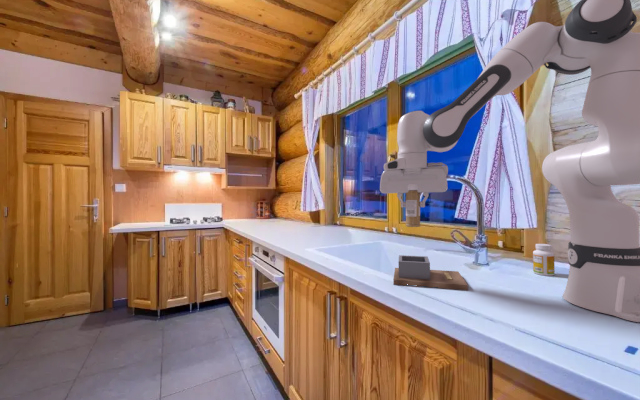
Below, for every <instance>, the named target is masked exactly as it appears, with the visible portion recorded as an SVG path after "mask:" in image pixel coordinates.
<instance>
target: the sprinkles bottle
mask: <svg viewBox="0 0 640 400" xmlns="http://www.w3.org/2000/svg"><path fill="white" fill-rule="evenodd" d="M408 190H409V191H408V193H405V202H406V204H405V205H406V207H405V226H406V227H408V228H419V227H421V207H420V202H421V201H420V200H421V195H420V194H421V193H420V192H418V191H417V190H418V185H417V184H409V185H408Z"/></svg>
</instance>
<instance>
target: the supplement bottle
mask: <svg viewBox="0 0 640 400" xmlns="http://www.w3.org/2000/svg"><path fill="white" fill-rule="evenodd" d="M532 259H533V260H532V264H533V266H532V267H533V268H532V269H533V270H532V271H533V272H532V273H534V274H536V275H539V276H545V277H553V276H555V253H554V252H553V251H552V245H551V244H549V243H548V244H547V243H535V250H533V251H532Z"/></svg>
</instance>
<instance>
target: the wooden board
mask: <svg viewBox="0 0 640 400" xmlns="http://www.w3.org/2000/svg"><path fill="white" fill-rule="evenodd" d="M407 284H408V285H417V286H416V287H419V286H427V287H426V288H432V287H438V288H437V289H447V290H448V289H449V290H458V291H459V290H460V291H468V290H469V289H468V288H469V285H468V284H467V282H466V280H465V279H464V278H463V275H461V273H460V272H459V271H457V270H440V269H430V280H427V279H412V278H399V267H394V274H393V285H396V286H406V285H407Z"/></svg>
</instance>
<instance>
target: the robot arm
mask: <svg viewBox="0 0 640 400" xmlns="http://www.w3.org/2000/svg"><path fill="white" fill-rule="evenodd" d="M637 21H638V19H637V15H636V14H635V13H634V11H633V7H632V3H631V0H580V1H579V2H577V4H575V6H574V7H573V8H572V10H571V11H570V12H569V14H568V15H567V17H566V19H565V22H564V24H563V25H553V24H552V23H549V22H546V21H537V22H534V23H532V24H530V25H528V26H526V28H524V29H522V31H520V32H519V33H517V34H516V35H515V36H514V37H512V39H510V40H509V41H507V43H506V44H505V45H504V46H503V47H502V48H500V49H499V51H498V52H497V53H496V54H495V55H494V56H493V57H492V58H491V59H490V61H489V62H488V63H487V64H486V65H485V67H484V69H483V70H482V71H481V73H480V74H479V75H478V77H477V78H476V79H475V81H473V82H472V83H471V85H470V86H468V87H467V88H466V89H465V90H464V91H463V92H461V94H460V95H459V96H458V97H456V98H455V100H454V101H452V102H451V103H449V104H448V105H446V106H445V107H442V108H439V109H438V110H436V111H434V112H432V113H431V114H428V113H425V112H424V111H423V110H412V111H409V112H406V113H405V114H403V115H402V116H401V117H400V118H399V120H398V123H397V131H396V132H397V134H396V135H397V136H396V141H397V146H398V152H397V158H396V159H393V160H391V161H390V160H389V161H388V162H385V163H384V164H383V170H384V171H383V172H382V173H381V175H380V182H379V191H380V193H381V194H397V195H396V196H397V198H398V200H399V202H400V207H401V208H406V201H403V199H402V196H403V194H406V193H408V191H409V190H408V185H409V184H417V185H418V190H417V191H418V192H420V194H421V193H423V196H424V198H423V199H422V201H420V208H425V207H426V201H427V200H428V198H429V193H444V192H445V193H446V192H447V190H448V179H447V176H448V173H449V167H448V165H447V164H445V163H443V162H428V160H427V159H428V153H427V152H437V153H443V152H448V151H450V150H452V149H453V148H454V147H455V146H456V145H457V143H458V142H459V140H460V138H461V137H462V136H463V134H464V131H465V129H466V126H467V124H468V122H469V121H470V119H472V117H473V116H475V115H476V114H477V113H478V112H479V111H480V110H481V109H483V107H484V106H485V105H486V104H487V103H488V102H489V101H491V100H492V99H493V98H494V97H496V96H505V95H506V96H507V95H509V94H510V93H512V92H513V91H515V90H516V89H518V87H520V86H522V84H524V83H525V82H526V81H527V80H528V79H530V77H532V75H533V74H534V73H536V71H537V70H539V69H540V68H541V67H542V66H544V67H545V68H546V69H549V70H553V71H555V72H557V73H559V74H562V75H567V76H569V75H570V76H574V75H579V74H581V73H584V72H586V71H587V70H589V69H590V70H591V71H590V77H589V81H588V85H587V89H586V93H585V97H584V98H585V99H584V102H583V105H582V106H583V107H582V110H581V117H582V118H583V119H584V121H586V122H587V123H588V124H590V125H591V126H594V127H596V128H597V127H598V135H597V138H596V139H595V140H591V141H585V142H581V143H576V144H571V145H570V144H569V145H567V146H565V147H562V148H559V149H557V150H553V151H552V152H551V153H548V155H546V156H545V158H544V160H543V162H542V165H541V166H542V167H541V171H542V175H543V177H544V178H545V179H546V181H547V182H549V183H550V184H551V185H553V186H554V187H555V188H556V189H557V190H558V192H559V193H560V194H561V196H562V198H563V199H564V202H565V204H566V207H567V209H568V215H569V228H570V231H569V232H570V241H569V242H568V245H567V247H568V249H567V259H568V264H569V270H568V278H567V282H566V286H565V289H564V292H563V294H562V298H563V300H565V301H566V302H568V303H570V304H573V305H575V306H577V307H580V308H583V309H587V310H589V311H594V312H598V313H602V314H606V315H610V316H613V317H617V318H620V319H623V320H627V321H631V322H634V323H636V322H637V323H640V227H639V225H640V218H639V215H638V212H637V211H636V210H635V209H634V208H633V207H631V206H630V205H627V204H625V203H623V202H621V201H620V200H619V199H618V198H617V197H616V195H615V194H614V193H613V190H612V188H611V187H612V186H626V185H627V186H632V185H633V186H634V185H640V32H634V31H632V30H633V28H634V26H635V25H636V24H637Z"/></svg>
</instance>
